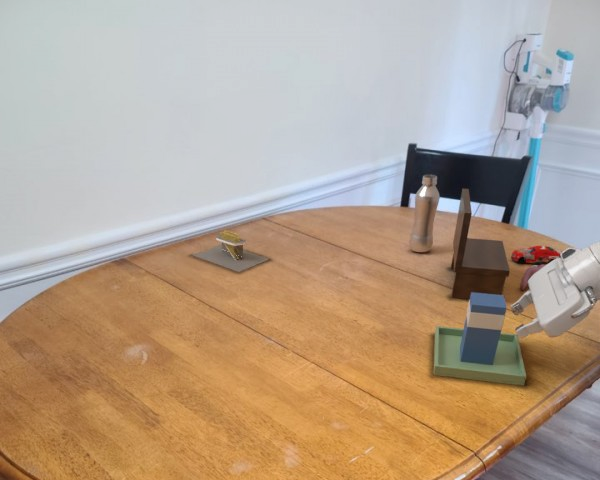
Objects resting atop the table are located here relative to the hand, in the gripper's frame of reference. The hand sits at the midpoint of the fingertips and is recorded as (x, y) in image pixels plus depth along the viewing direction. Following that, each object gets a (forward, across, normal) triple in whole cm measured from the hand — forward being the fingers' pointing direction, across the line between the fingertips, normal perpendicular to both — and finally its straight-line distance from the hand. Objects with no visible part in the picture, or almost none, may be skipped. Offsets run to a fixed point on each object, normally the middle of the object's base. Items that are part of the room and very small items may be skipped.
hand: (514, 322), depth 105 cm
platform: (+54, +40, +42) cm, 80 cm away
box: (+10, 0, -2) cm, 10 cm away
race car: (-3, +56, -15) cm, 58 cm away
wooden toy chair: (+9, +37, -3) cm, 38 cm away
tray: (+10, 0, -2) cm, 10 cm away
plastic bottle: (+19, +57, +7) cm, 60 cm away
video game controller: (-2, +37, -14) cm, 40 cm away
